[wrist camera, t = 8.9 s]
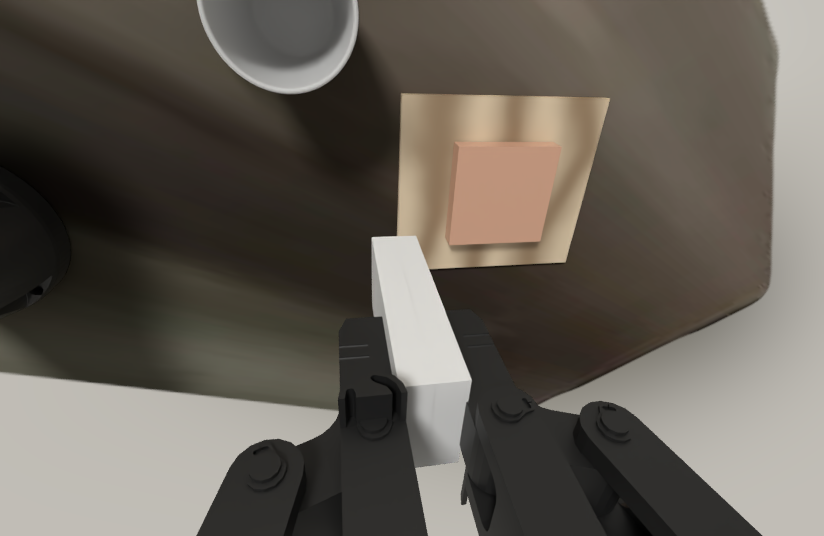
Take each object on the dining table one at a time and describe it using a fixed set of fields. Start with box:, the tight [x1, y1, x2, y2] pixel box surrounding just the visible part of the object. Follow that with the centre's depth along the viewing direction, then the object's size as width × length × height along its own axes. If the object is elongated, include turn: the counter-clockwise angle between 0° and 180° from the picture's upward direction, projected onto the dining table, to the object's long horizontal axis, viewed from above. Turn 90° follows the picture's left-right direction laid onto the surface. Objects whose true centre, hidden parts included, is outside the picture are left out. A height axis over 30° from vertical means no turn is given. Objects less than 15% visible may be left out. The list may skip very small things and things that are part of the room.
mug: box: [197, 0, 359, 94], centre depth 27 cm, size 12×9×10 cm
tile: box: [445, 142, 562, 245], centre depth 41 cm, size 2×10×10 cm
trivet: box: [397, 93, 610, 269], centre depth 42 cm, size 20×18×1 cm
